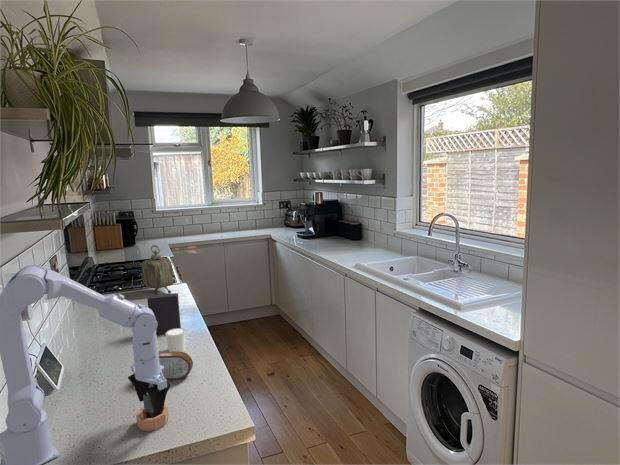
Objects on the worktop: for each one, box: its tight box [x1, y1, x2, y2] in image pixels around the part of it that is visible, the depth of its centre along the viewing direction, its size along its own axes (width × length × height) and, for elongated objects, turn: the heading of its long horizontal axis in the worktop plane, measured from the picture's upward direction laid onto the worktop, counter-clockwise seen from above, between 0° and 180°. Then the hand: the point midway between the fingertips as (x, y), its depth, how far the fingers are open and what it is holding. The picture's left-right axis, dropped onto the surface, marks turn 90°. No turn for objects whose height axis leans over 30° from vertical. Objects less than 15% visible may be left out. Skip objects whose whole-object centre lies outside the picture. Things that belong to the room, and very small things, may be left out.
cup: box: [135, 404, 170, 432], centre depth 105 cm, size 7×7×3 cm
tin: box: [158, 351, 194, 380], centre depth 126 cm, size 15×3×8 cm, turn 92°
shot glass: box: [164, 327, 187, 352], centre depth 144 cm, size 7×7×7 cm
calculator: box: [147, 292, 182, 335], centre depth 160 cm, size 11×4×15 cm, turn 104°
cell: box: [142, 392, 160, 418], centre depth 104 cm, size 4×4×8 cm
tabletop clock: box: [140, 244, 174, 295], centre depth 207 cm, size 14×9×25 cm, turn 53°
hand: (151, 405), depth 104 cm, fingers open, 7 cm apart
